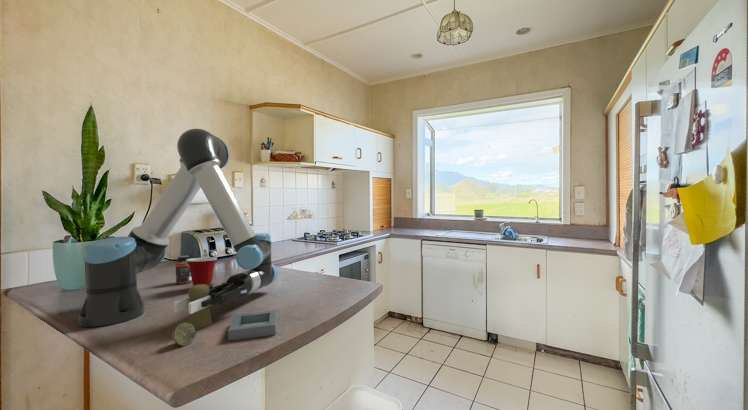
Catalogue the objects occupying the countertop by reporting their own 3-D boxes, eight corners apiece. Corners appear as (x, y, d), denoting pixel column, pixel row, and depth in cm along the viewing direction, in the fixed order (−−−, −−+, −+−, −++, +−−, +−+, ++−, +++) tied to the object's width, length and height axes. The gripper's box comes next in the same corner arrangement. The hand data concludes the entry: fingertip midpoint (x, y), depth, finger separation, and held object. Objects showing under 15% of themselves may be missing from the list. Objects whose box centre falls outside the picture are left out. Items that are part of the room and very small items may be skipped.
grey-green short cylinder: (197, 338, 77) (197, 318, 77) (188, 347, 72) (187, 326, 72) (178, 340, 76) (178, 319, 76) (168, 349, 71) (167, 327, 71)
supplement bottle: (195, 281, 132) (194, 255, 132) (180, 285, 127) (179, 258, 127) (188, 280, 135) (187, 254, 135) (173, 283, 130) (172, 256, 130)
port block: (228, 340, 75) (228, 330, 75) (235, 323, 85) (235, 314, 85) (275, 334, 78) (275, 324, 78) (277, 318, 88) (276, 310, 88)
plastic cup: (224, 284, 127) (223, 255, 127) (206, 292, 116) (205, 260, 116) (200, 284, 129) (199, 255, 128) (180, 291, 118) (179, 260, 118)
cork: (194, 321, 88) (192, 282, 88) (216, 319, 89) (214, 281, 88) (182, 329, 82) (181, 288, 82) (206, 328, 83) (205, 287, 82)
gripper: (265, 296, 100) (209, 325, 78) (222, 293, 105) (157, 319, 82) (265, 273, 100) (209, 295, 78) (221, 271, 105) (156, 291, 82)
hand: (182, 307), depth 80 cm, fingers closed on cork, 4 cm apart
